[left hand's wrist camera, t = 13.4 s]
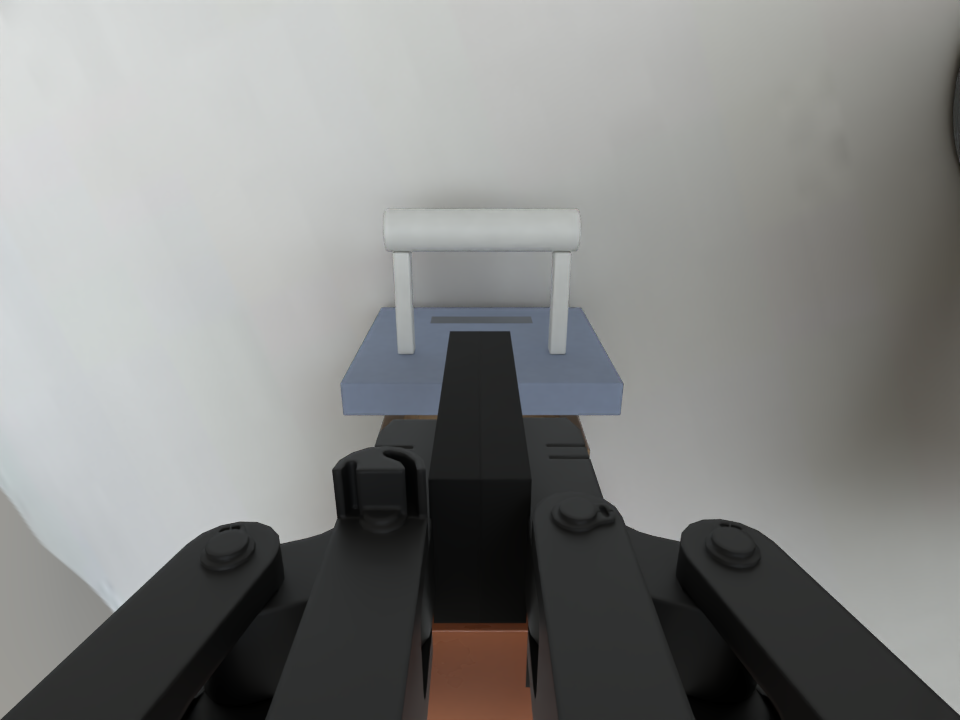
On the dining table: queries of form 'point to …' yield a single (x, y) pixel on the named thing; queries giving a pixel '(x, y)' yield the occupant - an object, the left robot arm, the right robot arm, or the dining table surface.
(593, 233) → the dining table surface
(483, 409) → the left robot arm
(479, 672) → the cabinet
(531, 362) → the drawer
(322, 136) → the dining table surface
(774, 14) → the dining table surface
